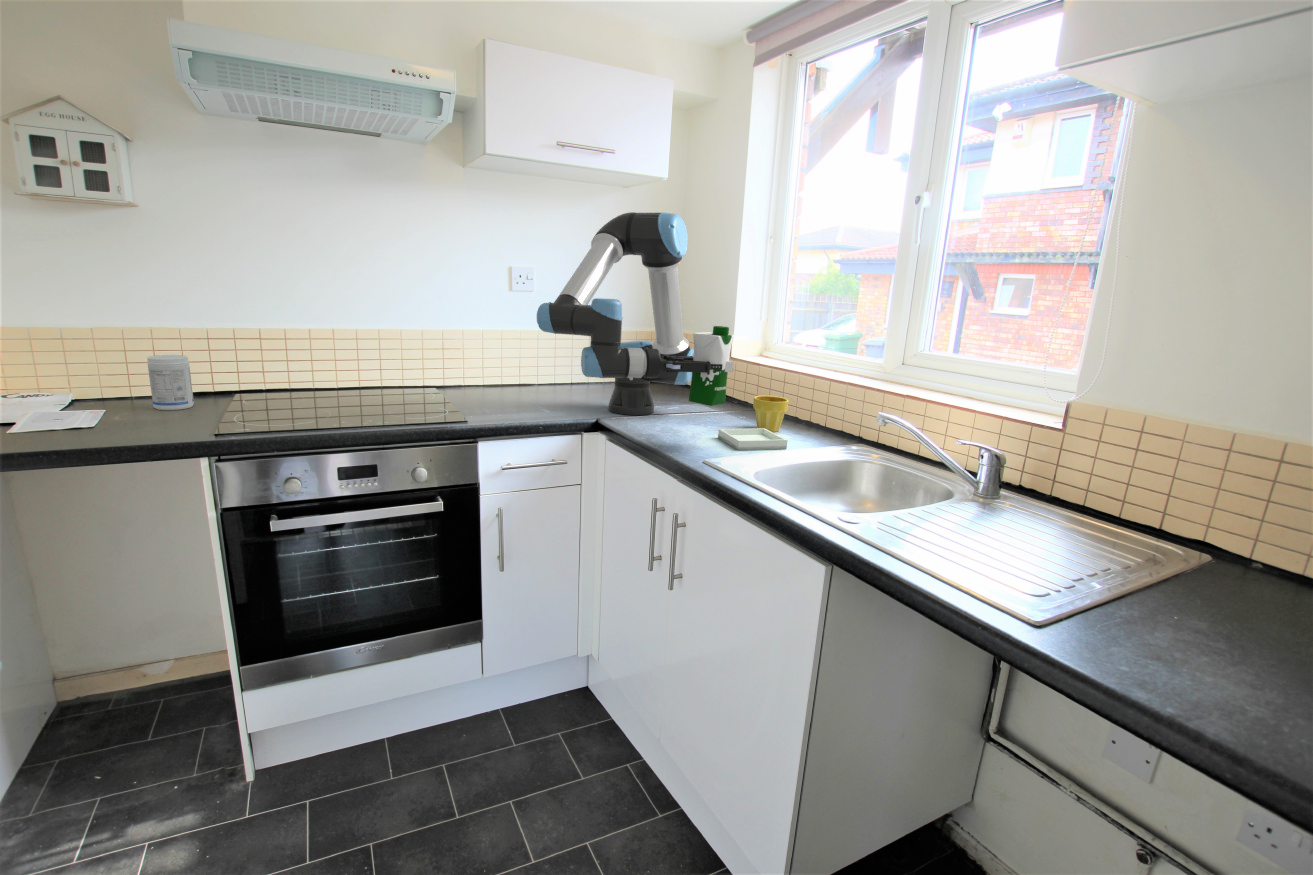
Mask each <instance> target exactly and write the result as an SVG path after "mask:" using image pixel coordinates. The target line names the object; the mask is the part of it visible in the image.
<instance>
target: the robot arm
mask: <svg viewBox="0 0 1313 875" xmlns="http://www.w3.org/2000/svg"><path fill="white" fill-rule="evenodd" d="M688 241H689V235H688V230H687V226H686V223H685V221H684V220H683V218H682V217H681V216H680V215H679V214H678V213H677V214H676V213H670V212H663V211H662V212H635V211H634V212H630V211H629V212H626V213H625V212H624V213H622V214H619V215H617V216H616V217H613V218H612V219H611V220H609V221H608V222H606V223H605V224H603V226H601V228H599V229H598V231H597V232H596V233H595V235H594V236H593V237H592V240H591V243H590V249H589V250H588V252H587V253H586V255H585V256H584V258H582V261H581V262H580V264H579V265H578V266H577V268H576V269H575V271H574V272H573V273H572V276H571V277H570V278H569V279H568V281H567V283H566V284H565V286H564V287H563V289H562V290H561V292H560V293H559V294H558V296H557V297H556V299H555V300H554V301H553V302H551V301H549V302H543V303H541V304H540V305H539V306H538V308H537V311H536V323H537V325H538V328H539V329H540V330H541V331H542V332H544V333H550V334H555V335H558V334H559V335H569V336H570V335H572V336H585V337H590V345H589V346H586V347H583V348H582V350H581V356H580V367H581V372H582V374H583V375H584V376H585V377H586V378H598V379H614V389H613V391H612V394H611V397H610V399H609V402H608V411H609V412H611V413H614V414H619V415H628V416H629V415H630V416H644V415H651V414H653V413H654V412H655V403H654V400H653V396H652V392H651V382H653V383H663V384H671V385H672V384H673V385H675V386H676V385H682V386H685V385H688V384H689V383H691V379H692V372H704V373H707V375H709V374H710V370H722V365H723V364H710V362H709V361H707V362H705V361H693V356H694V348H691V346H690V341H689V339H687V338H686V337H685V336H684V327H683V326H684V325H683V314H682V302H681V301H682V300H681V292H680V289H681V288H680V280H679V270H678V269H679V267H678V265H679V264H681V263H682V260H683V257H684V256H685V255H686V253H687V250H688ZM629 255H630V256H631V255H632V256H640V257H641V263H642V264H641V265H642V266H643V267H644V268H646V269H647V271H648V278H649V280H648V281H649V287H650V296H651V305H652V313H653V320H654V331H655V341H654V342H653V341H652V340H636V341H635V340H634V341H624V342H623V341H622V331H623V330H622V326H623V307H622V306H623V305H622V301H620V300H619V299H617V298H616V299H615V298H603V297H601V298H600V297H598V298H597V297H596V298H594V295H595V294H596V292H597V291H598V290H599V287H600V286H601V284H602V283H603V281H604V280H605V279H606V276H607V275H608V274H609V272H610V270H611V269H612V267H613V266H614V264H616V263H618V262H620V261H621V260H622V258H623V257H625V256H629ZM590 302H591V304H590ZM713 366H714V368H713ZM716 366H717V368H716ZM719 366H720V368H719ZM725 372H728V373H733V372H734V361H733V360H729V361H726V366H725Z"/></svg>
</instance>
